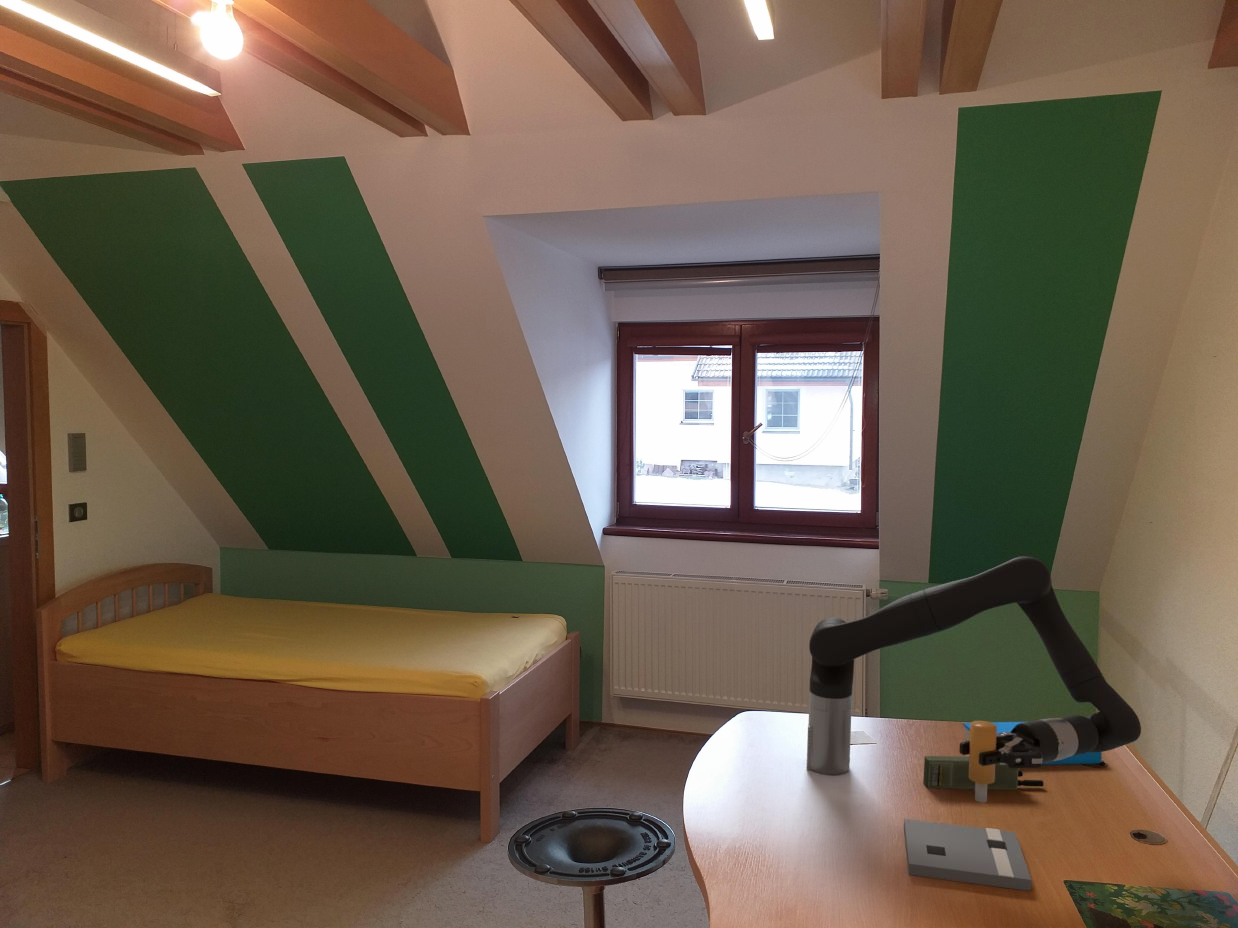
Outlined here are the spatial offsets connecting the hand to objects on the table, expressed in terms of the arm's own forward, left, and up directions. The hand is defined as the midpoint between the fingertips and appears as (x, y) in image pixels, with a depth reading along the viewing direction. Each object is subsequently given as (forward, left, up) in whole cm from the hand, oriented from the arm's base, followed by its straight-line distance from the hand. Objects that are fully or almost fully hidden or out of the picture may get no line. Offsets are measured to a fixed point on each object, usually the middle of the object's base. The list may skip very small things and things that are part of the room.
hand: (970, 754), depth 167 cm
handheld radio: (+7, +33, -21) cm, 39 cm away
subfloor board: (0, +1, -20) cm, 20 cm away
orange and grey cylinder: (+2, +2, -9) cm, 9 cm away
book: (+20, +56, -21) cm, 63 cm away
